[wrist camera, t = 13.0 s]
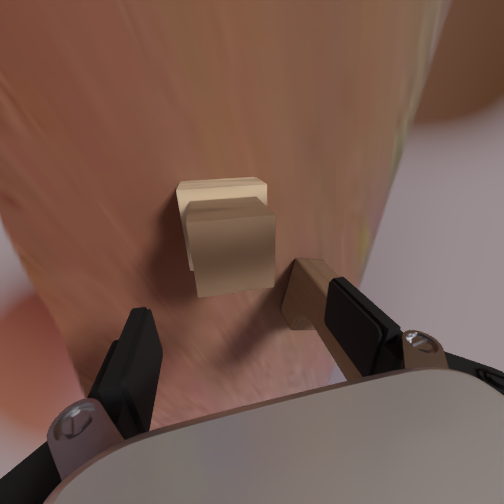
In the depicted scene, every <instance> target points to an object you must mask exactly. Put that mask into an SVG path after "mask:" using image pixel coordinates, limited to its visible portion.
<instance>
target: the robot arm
mask: <svg viewBox="0 0 504 504" xmlns="http://www.w3.org/2000/svg"><path fill="white" fill-rule="evenodd" d="M324 322H325V325H326V327H327V328H328V329H329V331H330V332H331V334H332V335H333V336H334V338H335V339H336V340H337V342H338V343H339V345H340V346H341V347H342V349H343V350H344V352H345V353H346V354H347V356H348V357H349V359H350V360H351V361H352V363H353V364H354V366H355V367H356V368H357V370H358V371H359V373H360V374H361V375H362V378H358V379H354V380H349V381H345V382H341V383H337V384H333V385H328V386H324V387H320V388H316V389H312V390H307V391H303V392H299V393H295V394H291V395H287V396H283V397H279V398H275V399H271V400H266V401H262V402H258V403H254V404H250V405H246V406H242V407H238V408H234V409H230V410H226V411H222V412H218V413H214V414H210V415H206V416H202V417H198V418H195V419H191V420H187V421H183V422H180V423H176V424H172V425H169V426H165V427H161V428H158V429H155V430H152V431H149V429H150V424H151V418H152V413H153V407H154V402H155V396H156V390H157V385H158V379H159V374H160V368H161V362H162V357H163V351H162V347H161V343H160V340H159V336H158V333H157V329H156V326H155V322H154V318H153V315H152V311H151V309H148V310H147V308H146V307H141V308H134V309H132V310H131V312H130V315H129V317H128V319H127V322H126V324H125V326H124V329H123V331H122V334H121V336H120V338H119V340H115V341H114V342H113V343H112V344H111V346H110V349H109V351H108V353H107V355H106V358H105V360H104V362H103V364H102V366H101V369H100V371H99V373H98V375H97V377H96V380H95V382H94V384H93V386H92V388H91V391H90V393H89V395H88V397H87V398H86V399H82V400H79V401H77V402H75V403H73V404H71V405H70V406H68V407H67V408H66V409H64V410H63V411H62V412H61V413H60V414H59V415H58V416H57V417H56V418H55V419H54V421H53V422H52V424H51V426H50V427H49V430H48V433H47V441H46V442H45V443H44V444H43V445H41V446H40V447H39V448H38V449H36V450H35V451H34V452H33V453H32V454H31V455H29V456H28V457H27V458H25V459H24V460H23V461H22V462H21V463H20V464H18V465H17V466H16V467H14V469H12V470H11V471H10V472H8V473H7V474H6V475H5V476H3V477H2V478H1V479H0V504H504V373H503V372H502V371H499V370H497V369H494V368H492V367H489V366H486V365H483V364H480V363H477V362H474V361H471V360H468V359H465V358H462V357H459V356H456V355H453V354H450V353H447V352H445V351H444V350H443V347H442V346H441V344H440V343H439V342H438V341H437V340H436V339H435V338H433V337H432V336H430V335H428V334H426V333H423V332H420V331H416V330H408V331H405V332H404V333H403V332H402V331H401V330H400V326H399V325H398V324H396V323H395V322H394V321H393V320H392V319H390V317H388V316H387V315H386V314H385V313H384V312H383V311H382V310H381V309H379V308H378V307H377V306H376V305H375V304H374V303H373V302H372V301H370V300H369V299H368V298H367V297H366V296H365V295H364V294H362V293H361V292H360V291H359V290H358V289H357V288H356V287H355V286H353V285H352V284H351V283H350V282H349V281H348V280H347V279H345V278H344V277H338V278H333V279H332V280H331V281H330V282H329V285H328V293H327V300H326V308H325V315H324Z"/></svg>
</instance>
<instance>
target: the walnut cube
mask: <svg viewBox="0 0 504 504" xmlns="http://www.w3.org/2000/svg"><path fill="white" fill-rule="evenodd" d="M186 226H187V232H188V238H189V245H190V251H191V257H192V263H193V269H194V275H195V281H196V287H197V293H198V298H201V297H208V296H215V295H222V294H229V293H236V292H243V291H250V290H257V289H263V288H270V287H274V270H275V228H276V215H275V214H274V213H273V212H272V211H271V210H270V209H269V208H268V207H267V206H266V205H265V204H264V203H263V202H262V201H261V200H260V199H259V198H258V197H257V196H255V197H241V198H227V199H213V200H199V201H190V203H189V209H188V214H187V219H186Z"/></svg>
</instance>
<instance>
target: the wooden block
mask: <svg viewBox="0 0 504 504" xmlns="http://www.w3.org/2000/svg"><path fill="white" fill-rule="evenodd" d="M338 277H340V276H339V275H338V274H337V273H336V272H335V271H334V270H333V269H332V268H331V267H330V266H328V265H327V264H326V263H325V262H324V261H323V260H313V259H299V258H297V259H295V262H294V265H293V269H292V272H291V276H290V279H289V282H288V286H287V289H286V293H285V296H284V300H283V303H282V307H281V311H282V313H283V315H284V317H285V319H286V321H287V323H288V326H289V328H290V329H291V330H316V331H317V332H318V334H319V336H320V337H321V339H322V341H323V342H324V344H325V345H326V347H327V349H328V350H329V352H330V354H331V355H332V357H333V358H334V360H335V362H336V363H337V365H338V366H339V368H340V370H341V371H342V373H343V374H344V376H345V378H346V379H347V381H349V380H354V379H358V378H362V375H361V374H360V373H359V371H358V370H357V368H356V367H355V366H354V364H353V363H352V361H351V360H350V359H349V357H348V356H347V354H346V353H345V352H344V350H343V349H342V347H341V346H340V345H339V343H338V342H337V340H336V339H335V338H334V336H333V335H332V334H331V332H330V331H329V329H328V328H327V327H326V325H325V322H324V315H325V308H326V300H327V293H328V285H329V282H330V281H331V280H332V279H333V278H338Z"/></svg>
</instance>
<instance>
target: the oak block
mask: <svg viewBox="0 0 504 504" xmlns="http://www.w3.org/2000/svg"><path fill="white" fill-rule="evenodd" d="M176 193H177V199H178V205H179V210H180V216H181V222H182V227H183V233H184V238H185V244H186V250H187V255H188V261H189V267H190V271H194V269H193V263H192V257H191V251H190V245H189V238H188V232H187V226H186V219H187V214H188V209H189V203H190V201H199V200H213V199H227V198H241V197H255V196H257V197H258V198H259V199H260V200H261V201H262V202H263V203H264V204H265V205H266V206H267V184H266V183H264V182H263V181H261V180H259V179H258V178H256V177H245V178H229V179H212V180H195V181H181V182H180V183H179V185H178V187H177V189H176Z"/></svg>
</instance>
